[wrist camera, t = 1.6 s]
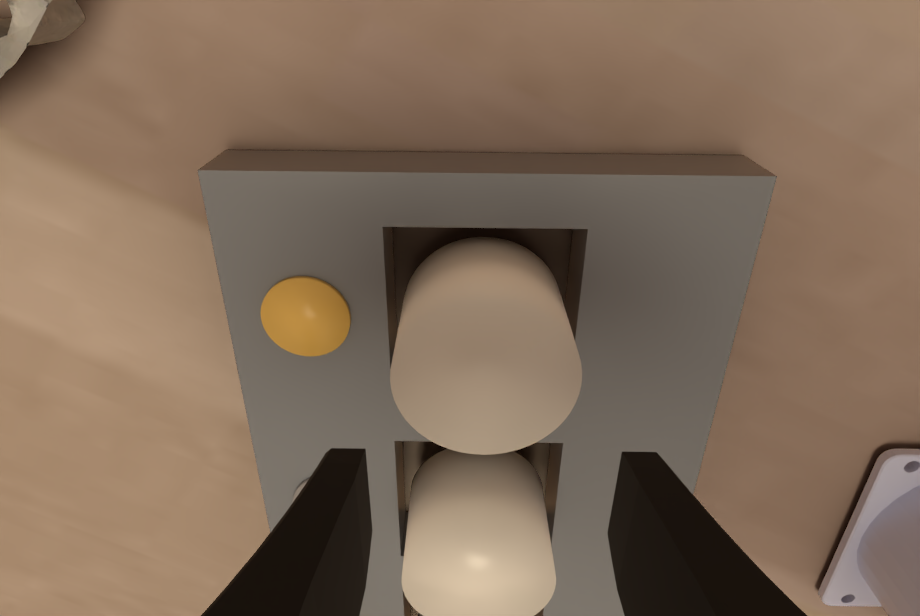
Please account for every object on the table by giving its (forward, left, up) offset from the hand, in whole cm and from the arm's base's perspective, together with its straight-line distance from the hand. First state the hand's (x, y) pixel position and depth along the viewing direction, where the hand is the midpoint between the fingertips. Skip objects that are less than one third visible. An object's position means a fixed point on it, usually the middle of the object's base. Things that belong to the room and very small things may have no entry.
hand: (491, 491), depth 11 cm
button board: (0, +7, -8) cm, 11 cm away
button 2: (0, +7, -7) cm, 10 cm away
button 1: (0, 0, -7) cm, 7 cm away
